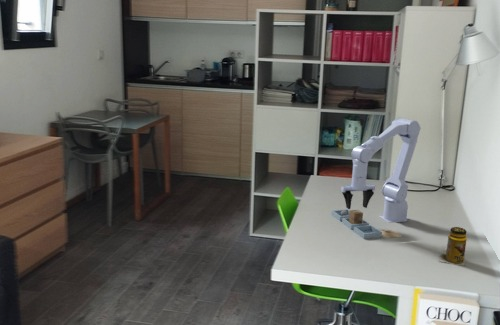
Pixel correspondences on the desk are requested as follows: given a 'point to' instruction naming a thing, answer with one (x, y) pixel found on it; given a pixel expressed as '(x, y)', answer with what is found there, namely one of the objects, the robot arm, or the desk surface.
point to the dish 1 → (339, 214)
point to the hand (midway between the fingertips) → (356, 207)
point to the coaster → (390, 234)
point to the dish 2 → (351, 226)
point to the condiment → (455, 247)
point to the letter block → (355, 217)
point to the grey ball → (344, 213)
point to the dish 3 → (367, 231)
